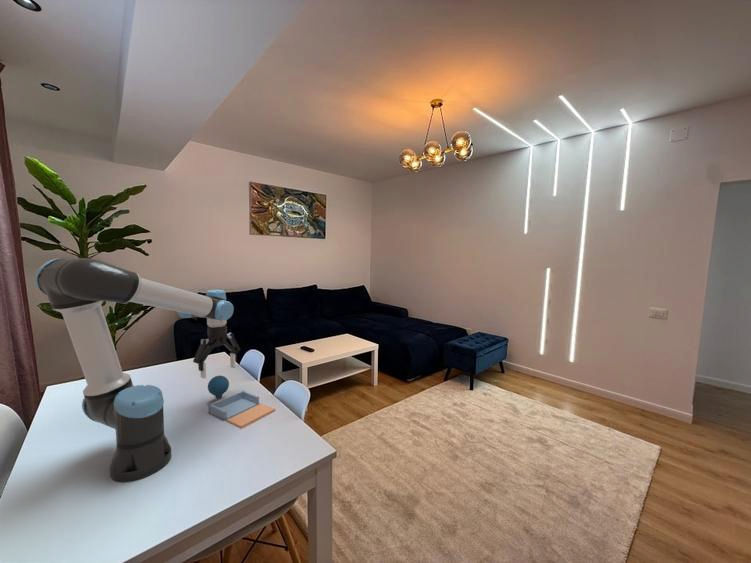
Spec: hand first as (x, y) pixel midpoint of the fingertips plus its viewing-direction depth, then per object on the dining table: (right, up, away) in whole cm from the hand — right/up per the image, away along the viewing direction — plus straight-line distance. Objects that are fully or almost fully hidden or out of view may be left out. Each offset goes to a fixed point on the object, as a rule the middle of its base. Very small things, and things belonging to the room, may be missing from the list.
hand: (218, 372), depth 133 cm
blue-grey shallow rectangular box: (+9, -14, -5) cm, 18 cm away
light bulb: (0, -14, +1) cm, 14 cm away
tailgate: (+15, -14, -9) cm, 22 cm away
